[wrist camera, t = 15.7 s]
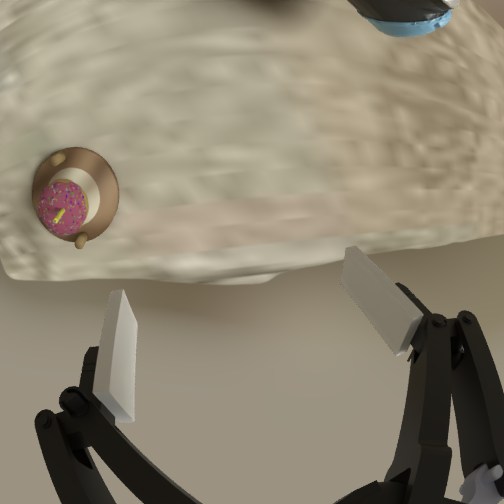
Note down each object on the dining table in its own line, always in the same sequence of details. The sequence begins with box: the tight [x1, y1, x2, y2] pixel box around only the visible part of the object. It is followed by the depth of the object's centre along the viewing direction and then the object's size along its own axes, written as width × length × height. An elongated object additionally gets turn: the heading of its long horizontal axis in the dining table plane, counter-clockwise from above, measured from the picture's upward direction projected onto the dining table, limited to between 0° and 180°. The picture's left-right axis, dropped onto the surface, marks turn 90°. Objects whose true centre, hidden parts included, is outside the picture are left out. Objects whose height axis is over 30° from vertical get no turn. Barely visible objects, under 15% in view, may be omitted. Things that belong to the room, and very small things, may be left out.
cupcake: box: [38, 179, 89, 235], centre depth 33 cm, size 9×8×12 cm
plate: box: [32, 147, 119, 249], centre depth 37 cm, size 16×16×4 cm
